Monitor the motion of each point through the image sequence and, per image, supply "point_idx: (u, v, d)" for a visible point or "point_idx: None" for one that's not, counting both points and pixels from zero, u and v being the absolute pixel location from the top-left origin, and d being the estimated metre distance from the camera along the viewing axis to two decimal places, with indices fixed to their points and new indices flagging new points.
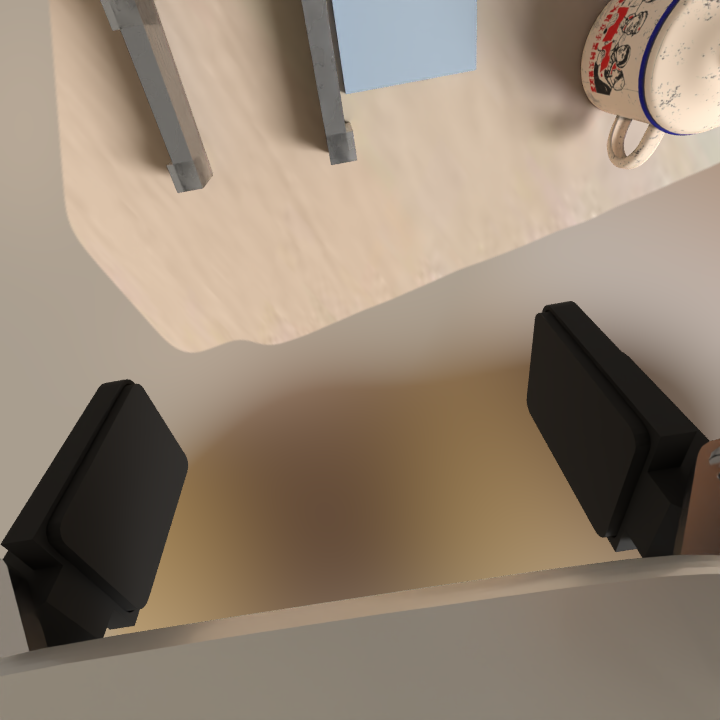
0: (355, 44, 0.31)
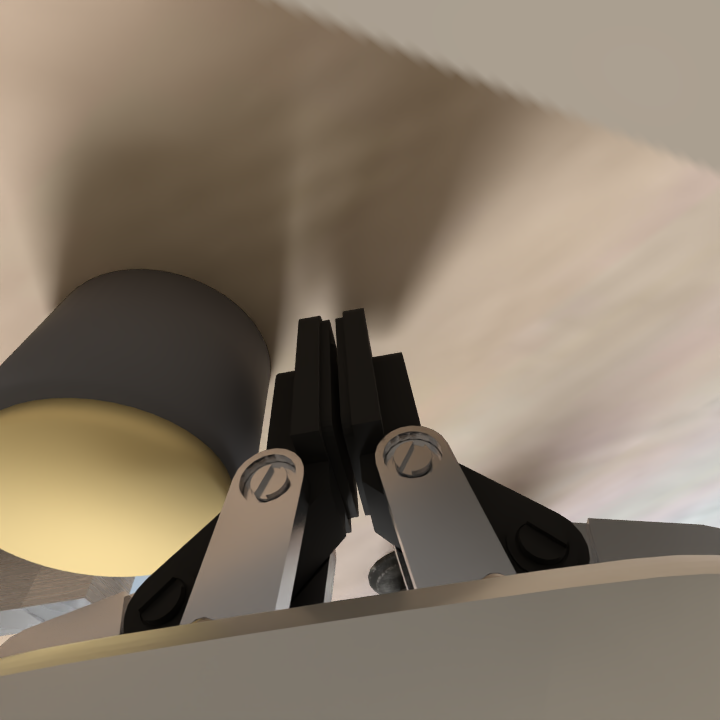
0: None
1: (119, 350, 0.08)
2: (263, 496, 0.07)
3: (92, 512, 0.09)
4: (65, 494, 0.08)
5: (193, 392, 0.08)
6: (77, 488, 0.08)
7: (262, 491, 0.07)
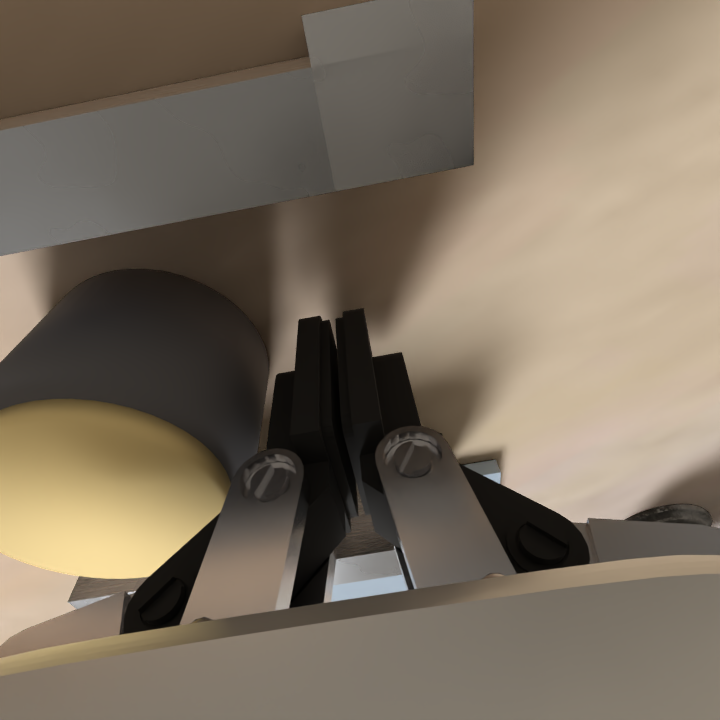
0: None
1: (120, 350, 0.08)
2: (263, 496, 0.07)
3: (90, 514, 0.09)
4: (63, 495, 0.08)
5: (194, 394, 0.08)
6: (75, 489, 0.08)
7: (262, 491, 0.07)
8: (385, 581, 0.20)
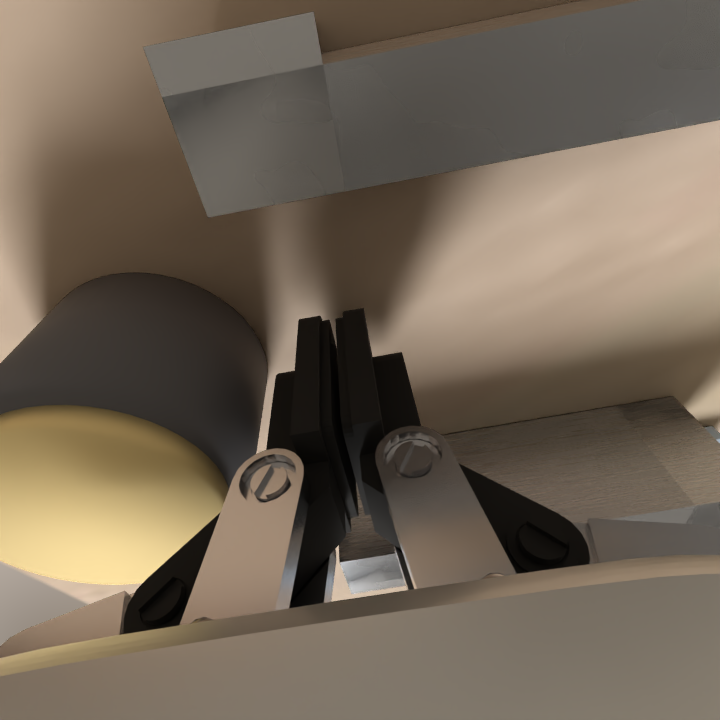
0: None
1: (115, 355, 0.08)
2: (263, 496, 0.07)
3: (86, 520, 0.09)
4: (59, 502, 0.08)
5: (190, 399, 0.08)
6: (71, 496, 0.08)
7: (262, 491, 0.07)
8: None
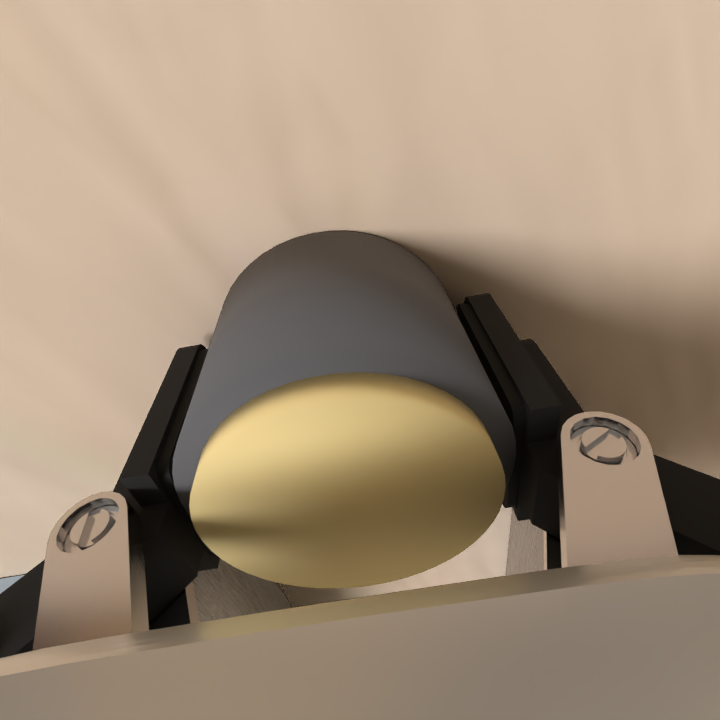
0: None
1: None
2: (89, 543, 0.07)
3: (353, 512, 0.07)
4: (391, 499, 0.07)
5: None
6: (400, 508, 0.07)
7: (86, 539, 0.07)
8: None
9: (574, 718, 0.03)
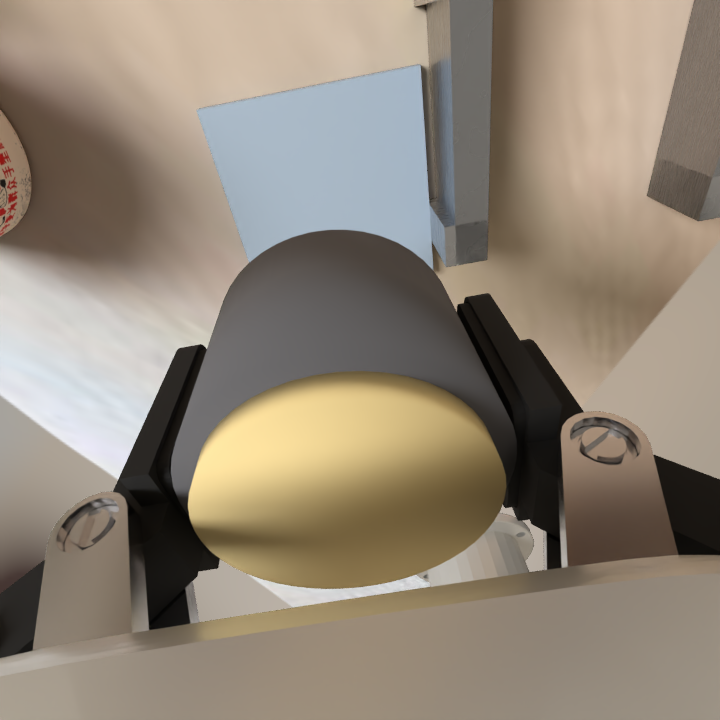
0: (400, 143, 0.20)
1: None
2: (88, 543, 0.07)
3: (353, 511, 0.07)
4: (391, 499, 0.07)
5: None
6: (400, 508, 0.07)
7: (86, 539, 0.07)
8: (290, 205, 0.22)
9: (574, 718, 0.03)
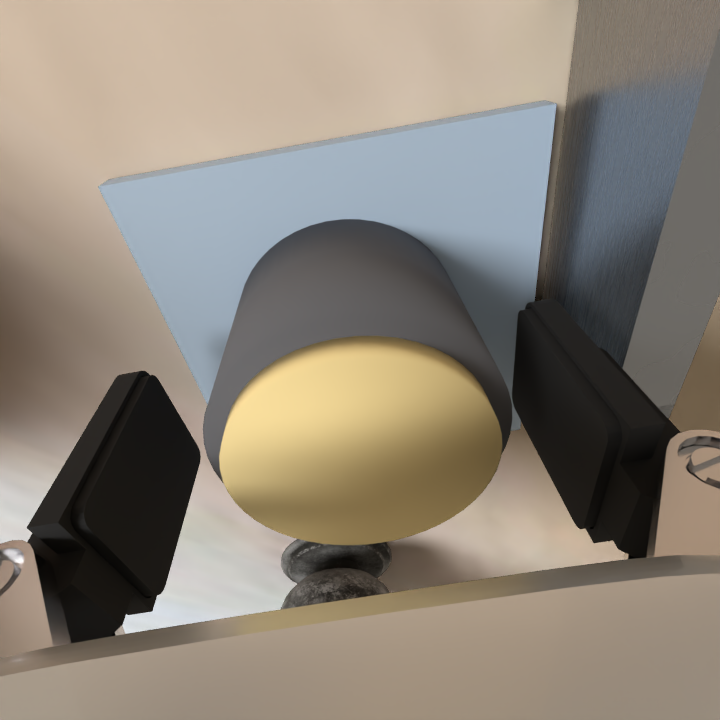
0: (494, 244, 0.11)
1: None
2: None
3: (365, 466, 0.08)
4: (399, 455, 0.08)
5: None
6: (407, 464, 0.08)
7: None
8: None
9: (574, 718, 0.03)
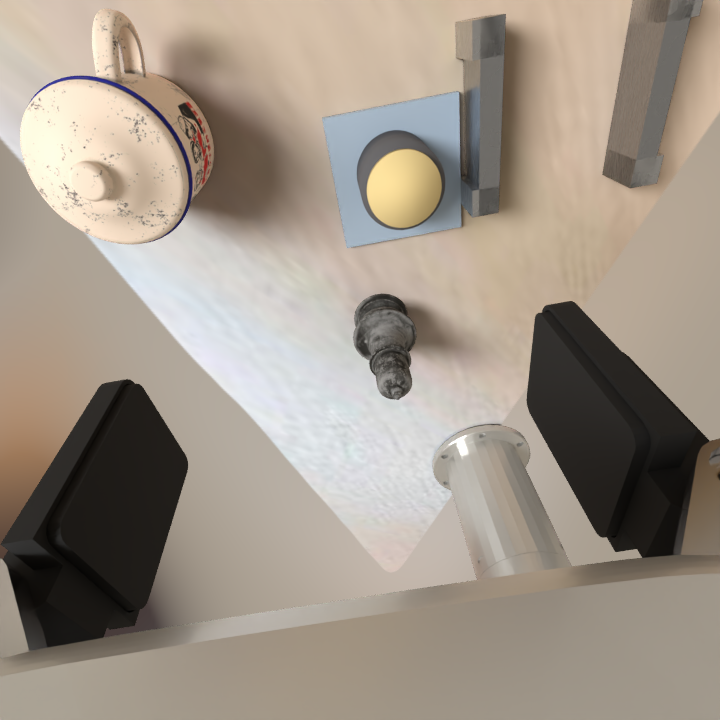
0: (444, 139, 0.33)
1: None
2: None
3: (405, 189, 0.30)
4: (414, 185, 0.30)
5: None
6: (416, 189, 0.30)
7: None
8: None
9: (574, 718, 0.03)
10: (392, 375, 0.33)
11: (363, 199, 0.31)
